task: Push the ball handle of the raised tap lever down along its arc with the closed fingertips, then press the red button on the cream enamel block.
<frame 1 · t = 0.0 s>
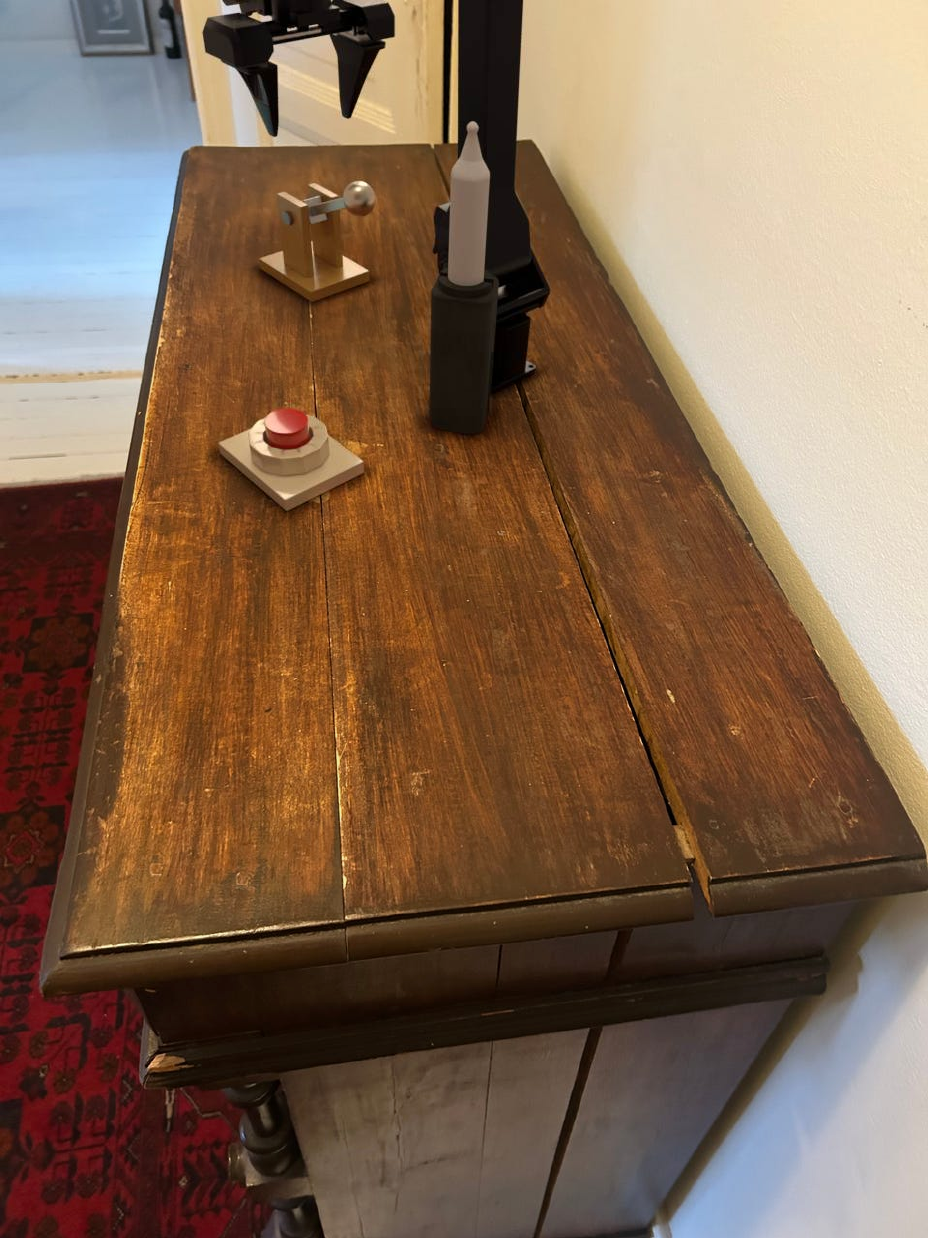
hand: (310, 126, 89), 15 cm above the dresser, tool pointing down, fingers open, 9 cm apart
button: (287, 429, 72), point 3 cm above the dresser, slide at 0.1 cm
button block: (291, 463, 75), on the dresser
tap bracket: (314, 274, 98), on the dresser
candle: (459, 418, 81), on the dresser
tap lever: (333, 205, 90), point 9 cm above the dresser, hinge at 25.0°
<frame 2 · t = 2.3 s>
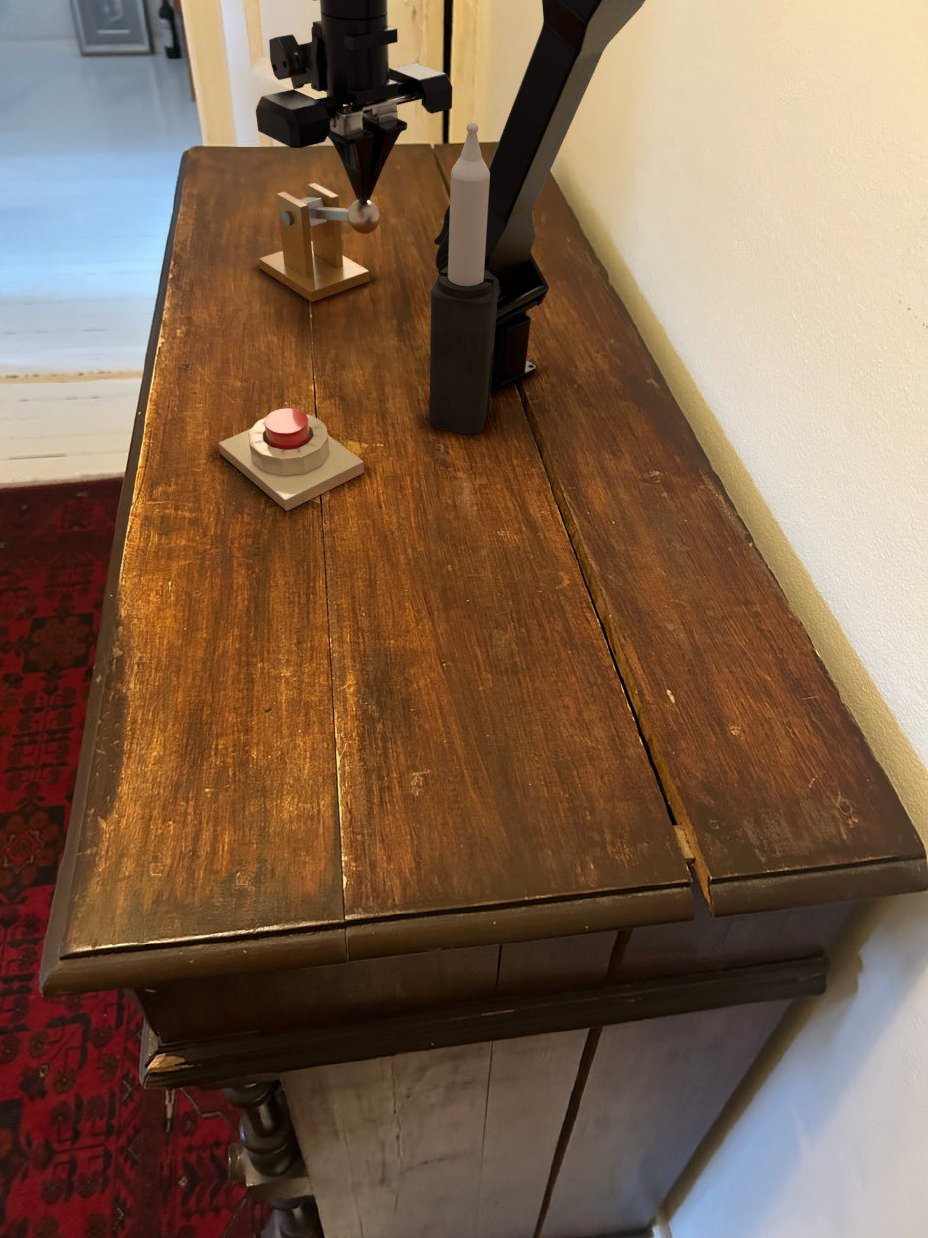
hand: (362, 199, 86), 11 cm above the dresser, tool pointing down, fingers closed
tap lever: (335, 214, 90), point 8 cm above the dresser, hinge at 15.6°, touching gripper
everything else where it was.
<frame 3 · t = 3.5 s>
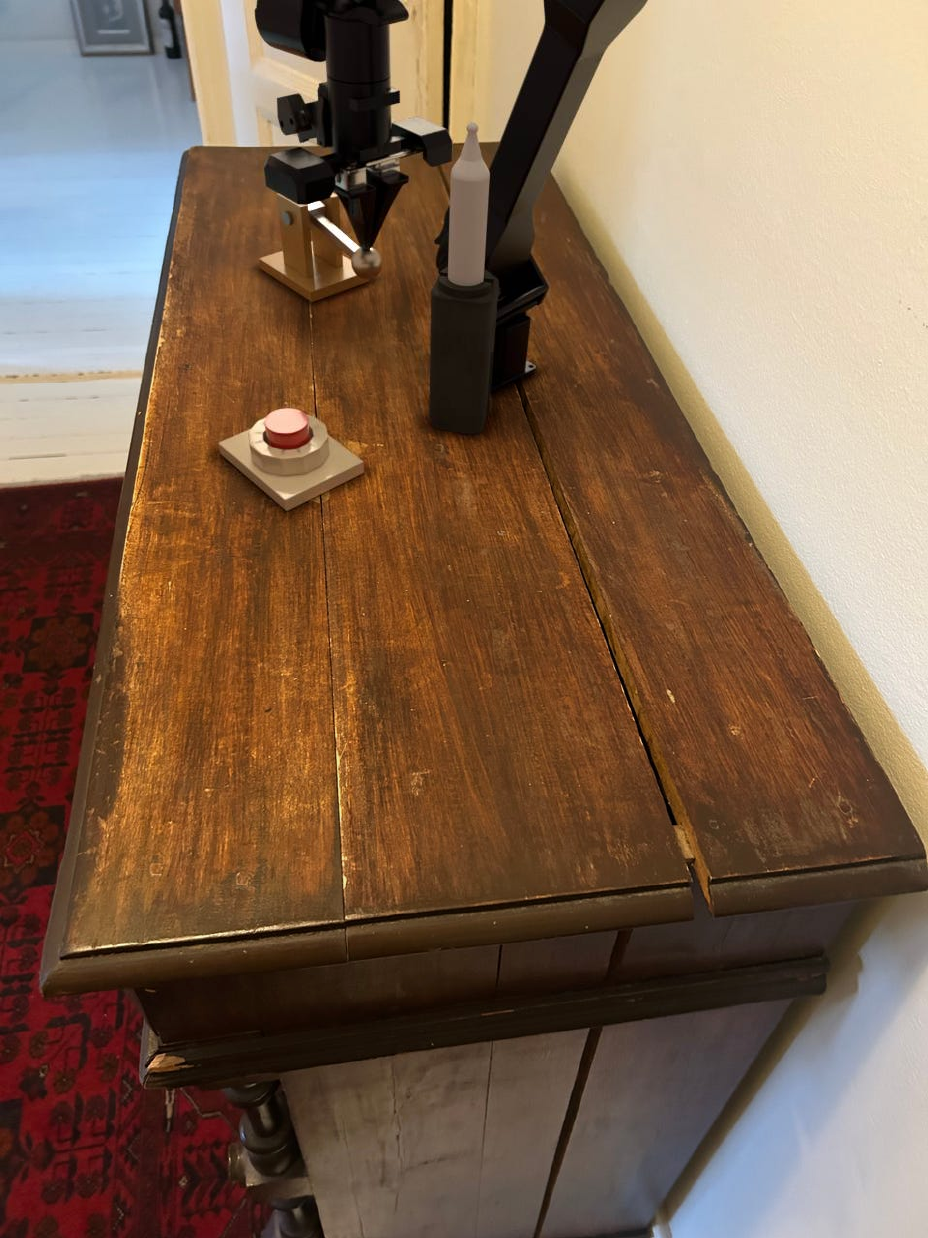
hand: (366, 247, 89), 7 cm above the dresser, tool pointing down, fingers closed, pressing on tap lever
tap lever: (337, 237, 92), point 6 cm above the dresser, hinge at -11.3°, touching gripper
everything else where it was.
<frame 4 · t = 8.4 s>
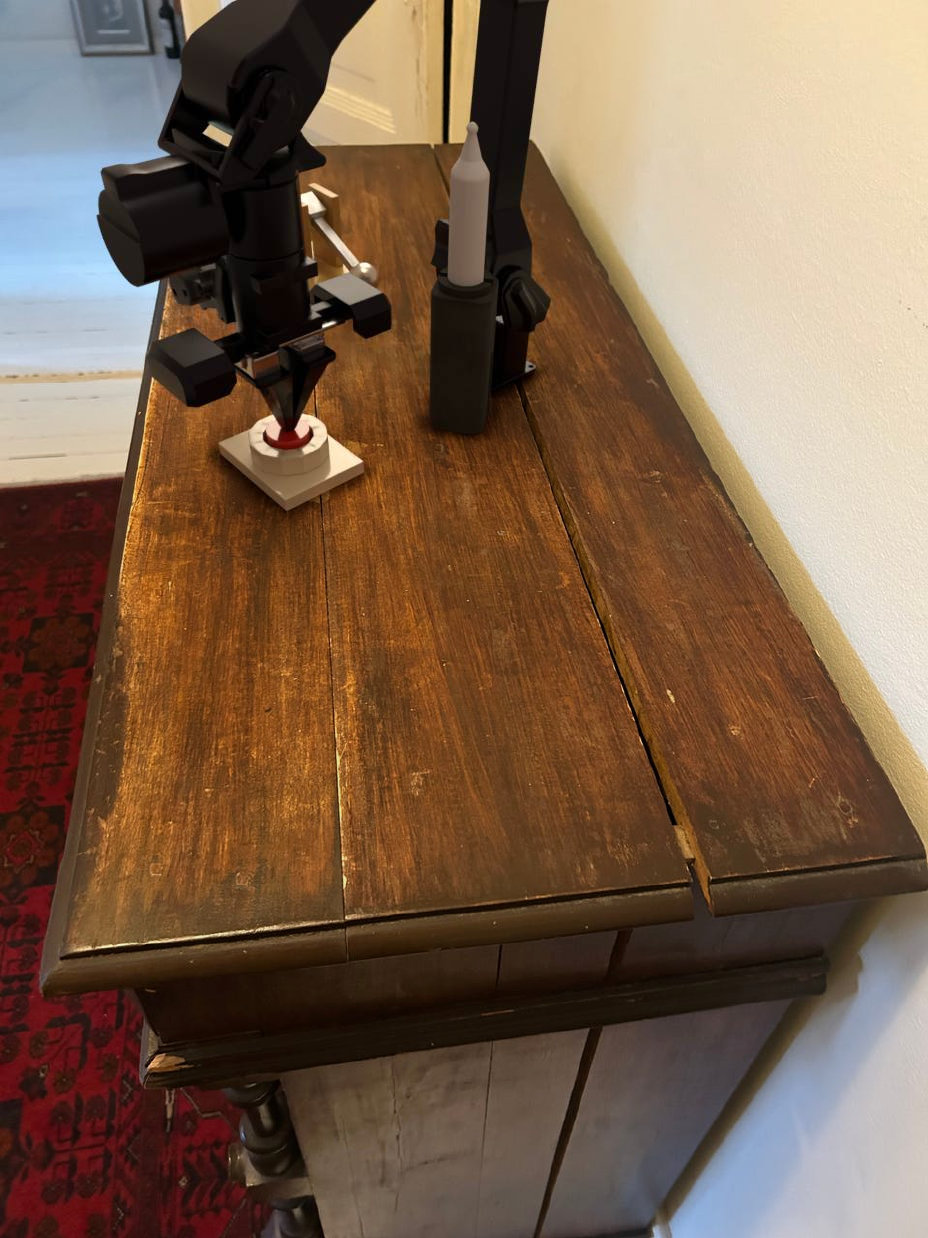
hand: (287, 428, 72), 4 cm above the dresser, tool pointing down, fingers closed, pressing on button
button: (288, 437, 73), point 3 cm above the dresser, slide at -0.7 cm, touching gripper
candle: (459, 418, 81), on the dresser, touching arm
tap lever: (336, 245, 93), point 5 cm above the dresser, hinge at -22.8°
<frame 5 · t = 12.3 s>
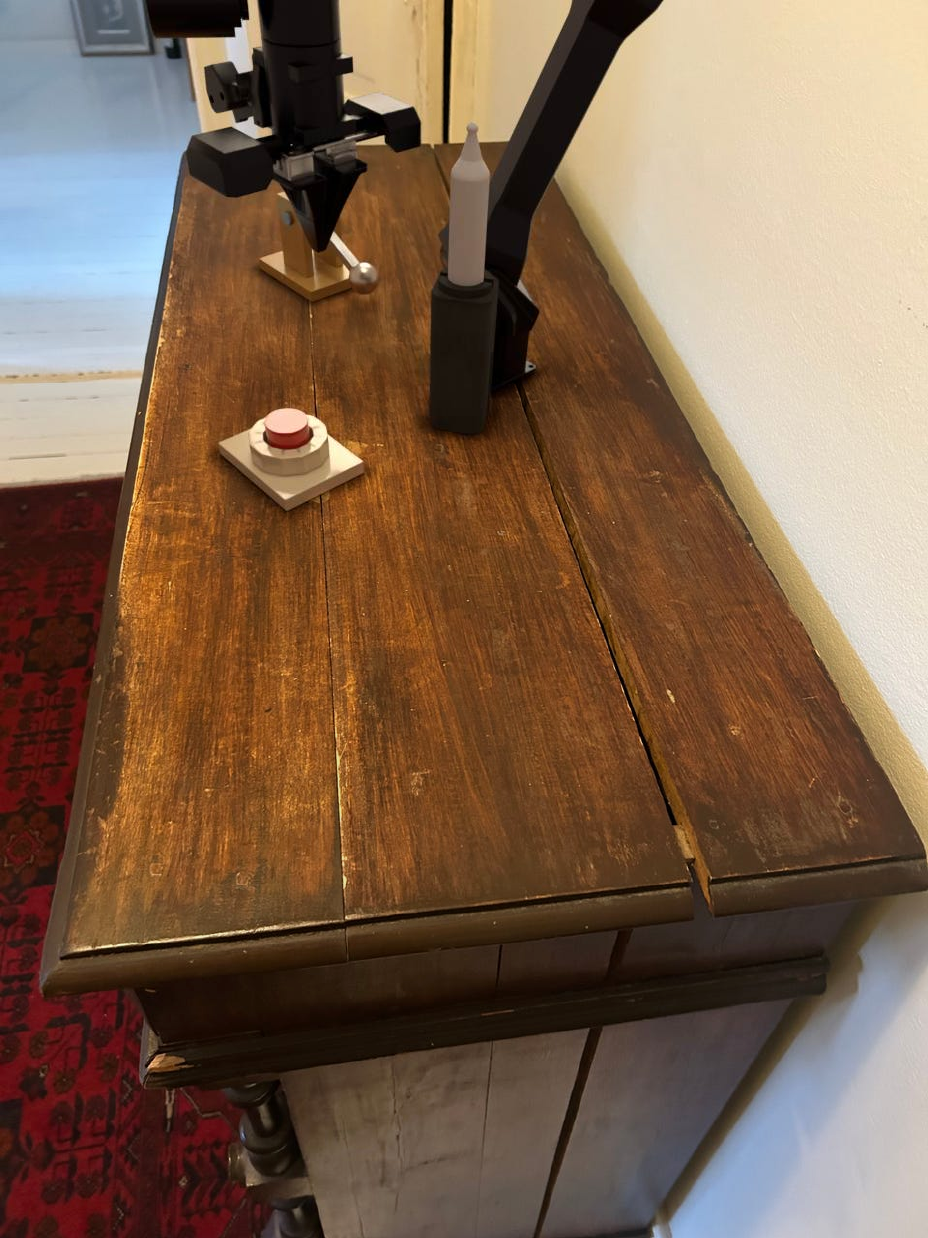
hand: (318, 249, 74), 13 cm above the dresser, tool pointing down, fingers closed
button: (287, 429, 72), point 3 cm above the dresser, slide at 0.1 cm
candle: (459, 418, 81), on the dresser
everything else where it was.
at the end: tap lever at -23° (first picture: +25°); button pushed in 1.1 cm at the most during the clip, back to where it started at the end; button slide at 0.1 cm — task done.
